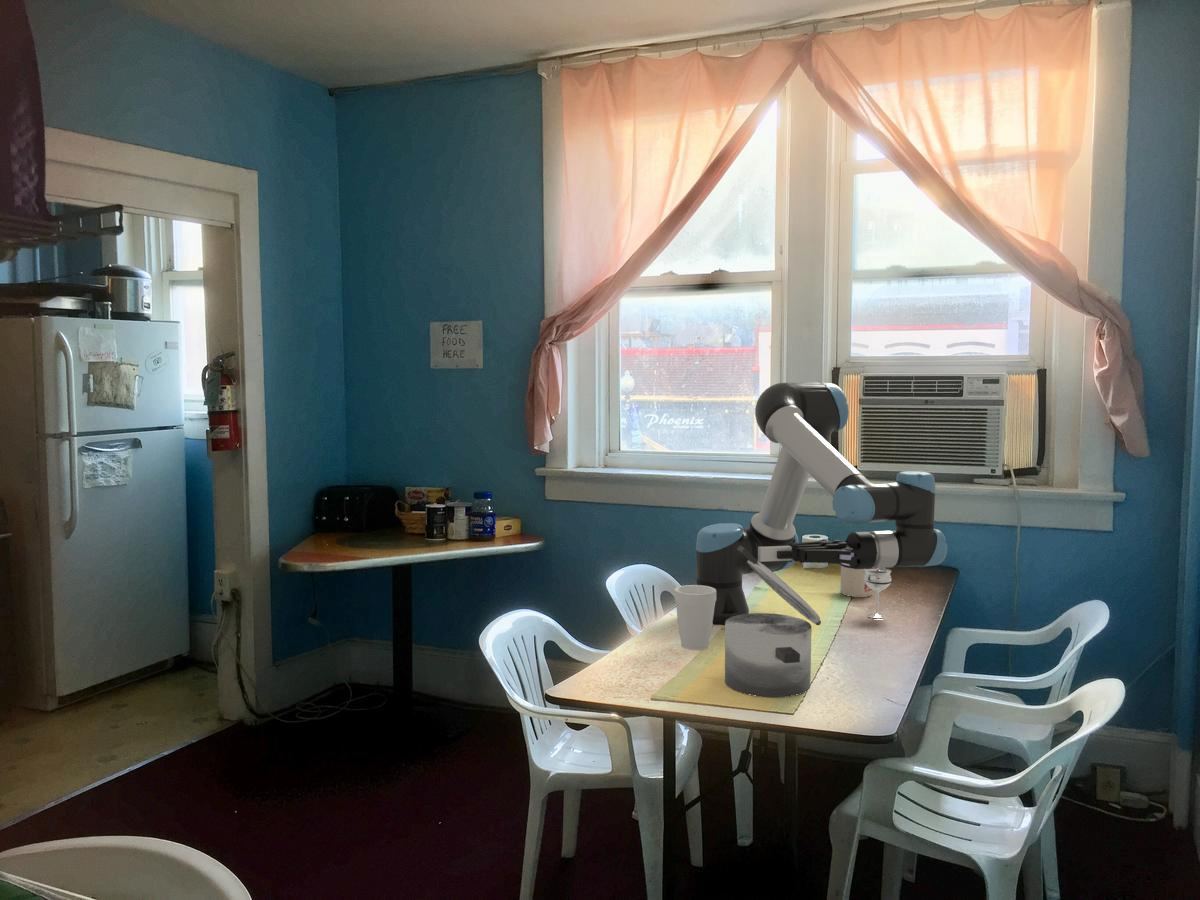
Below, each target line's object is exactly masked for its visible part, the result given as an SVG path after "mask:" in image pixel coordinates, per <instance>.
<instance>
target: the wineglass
mask: <svg viewBox="0 0 1200 900" xmlns="http://www.w3.org/2000/svg"><path fill="white" fill-rule="evenodd" d="M864 570H865V572H866V573H865V575H864V581H865V584H866V585H867V586H868V587H869V588H871V589H872V591H873V592H874V593H875V613H870V614H867V615H868V616H870V617H873V618H884V617H885V616H886V615H884V614H881V613H879V612H878V611H879V596H880V593H881V591H883V590H886V589H887V588H888V587H889V586H890V585H891V584H892V576H891V573H892V570H891V569H889V568H885V570H884V571H883V570H881V569H880V568H870V569H864Z"/></svg>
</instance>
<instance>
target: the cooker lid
mask: <svg viewBox="0 0 1200 900" xmlns="http://www.w3.org/2000/svg"><path fill="white" fill-rule="evenodd" d="M737 550H738V551H739V552H740V553H741V554H742V555H743V556H744V557H745V558H746V559H748V561H747V563H748V564H749V566H750V567H751V568H752V569H753V570H754V571H755V572H756V573H755V574H756V575H757V576H759V578H761V580H762V581H764V583H765V584H767V586H769V588H771V589H772V591H774V592H775V593H776V594H777V595H778V596H780V597H781V599H782V600H784V601H785V602H786V603H787V604H789V605H790V606H791V607H792V608H793V609H794V610H796V611H797V612H798V613H799V614H801V616H803V617H804V618H806V619H807V620H809V621H810V622H812V623H813V624H814V625H816V626H820V625H821V624H822V620H821V618H820V616H819V615H818V612H817V611H815V610H814V609H813V607H811V605H810V604H808V603H807V601H806V600H805V599H803V598H802V596H800V595H799V594H798V592H796V591H795V590H794V589H793V588H792V587H791V586H789V585H788V584H787V582H785V581H784V580H783V579H781V578H780V576H778V575H777V574H776V573H774V572H772V571H771V570H770V569H768V568H767V567H766V566H765V565H763V564H762V563H761V562H759V561H758V560H757V559H756V558H755V557H754V556H753V555H752V554H750V553H749V552H748V551H747V550H746V549H745V548H744V547H742V546H739V547H738V548H737ZM816 612H817V613H816Z"/></svg>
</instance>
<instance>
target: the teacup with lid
mask: <svg viewBox="0 0 1200 900" xmlns="http://www.w3.org/2000/svg"><path fill="white" fill-rule="evenodd" d="M839 564H840V565H839V566H840V594H841V593H842V594H841V595H843V594H845V595H849V596H852V597H851V598H868V596H869V597H871V596H872V595H873V589H871V588H869V587H868V586H867V585H866V584H865V581H864V575H865V573H866V572H865V570H864V569H853V568H852V567H851V566H850V565H849V564H846V563H839ZM845 595H844V596H845ZM849 596H848V597H849Z"/></svg>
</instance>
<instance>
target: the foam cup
mask: <svg viewBox="0 0 1200 900" xmlns="http://www.w3.org/2000/svg"><path fill="white" fill-rule="evenodd" d="M674 601H675V606H676V613H677V622H678V629H679V631H678V632H679V638H680V645H681V647H682V648H684V649H686V650H695V651H697V650H698V651H700V650H706V649H708V648H709V647H710V643H711V641H710V640H711V636H712V635H711V634H712V629H713V623H712V622H713V615H714V608H715V601H716V589H715V588H712V587H709V586H702V585H696V584H690V585H689V584H688V585H687V584H686V585H681V586H680V585H679V586H677V587H675V588H674Z"/></svg>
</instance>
